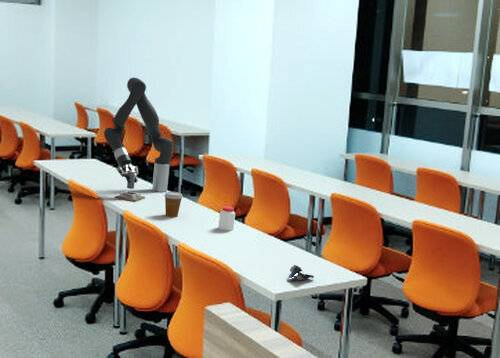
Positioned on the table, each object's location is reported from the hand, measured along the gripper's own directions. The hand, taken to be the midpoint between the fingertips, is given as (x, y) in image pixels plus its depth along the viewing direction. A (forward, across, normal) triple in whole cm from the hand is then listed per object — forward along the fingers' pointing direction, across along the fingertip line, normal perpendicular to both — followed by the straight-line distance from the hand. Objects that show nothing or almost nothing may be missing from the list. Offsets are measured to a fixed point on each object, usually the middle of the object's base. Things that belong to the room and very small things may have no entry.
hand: (133, 181), depth 369 cm
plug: (+2, 0, +4) cm, 4 cm away
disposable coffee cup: (+36, -4, -21) cm, 42 cm away
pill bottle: (+58, +5, -44) cm, 73 cm away
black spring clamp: (+109, -25, -94) cm, 146 cm away
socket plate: (+6, 0, +8) cm, 10 cm away
